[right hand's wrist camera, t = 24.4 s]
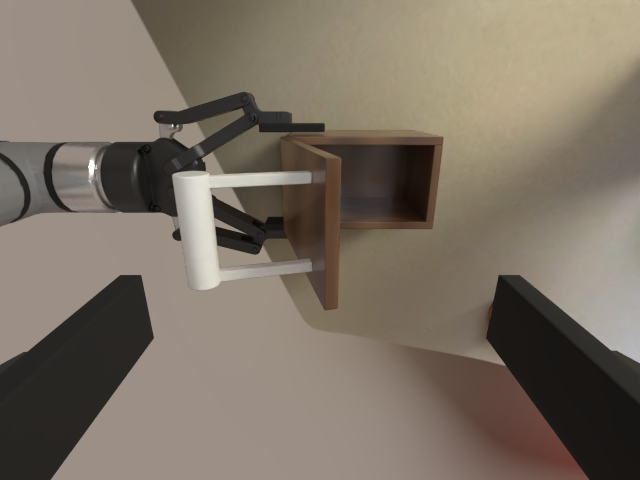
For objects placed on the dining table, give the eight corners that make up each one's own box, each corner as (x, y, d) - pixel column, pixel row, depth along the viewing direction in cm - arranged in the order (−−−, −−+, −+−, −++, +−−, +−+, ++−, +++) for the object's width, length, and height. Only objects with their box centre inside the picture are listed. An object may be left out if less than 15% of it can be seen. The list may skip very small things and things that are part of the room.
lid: (341, 157, 18) (158, 163, 16) (338, 309, 21) (185, 330, 19) (289, 136, 32) (188, 138, 30) (292, 230, 35) (201, 237, 33)
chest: (414, 130, 43) (444, 136, 32) (407, 202, 46) (432, 229, 36) (293, 130, 43) (285, 136, 32) (295, 202, 46) (288, 228, 36)
